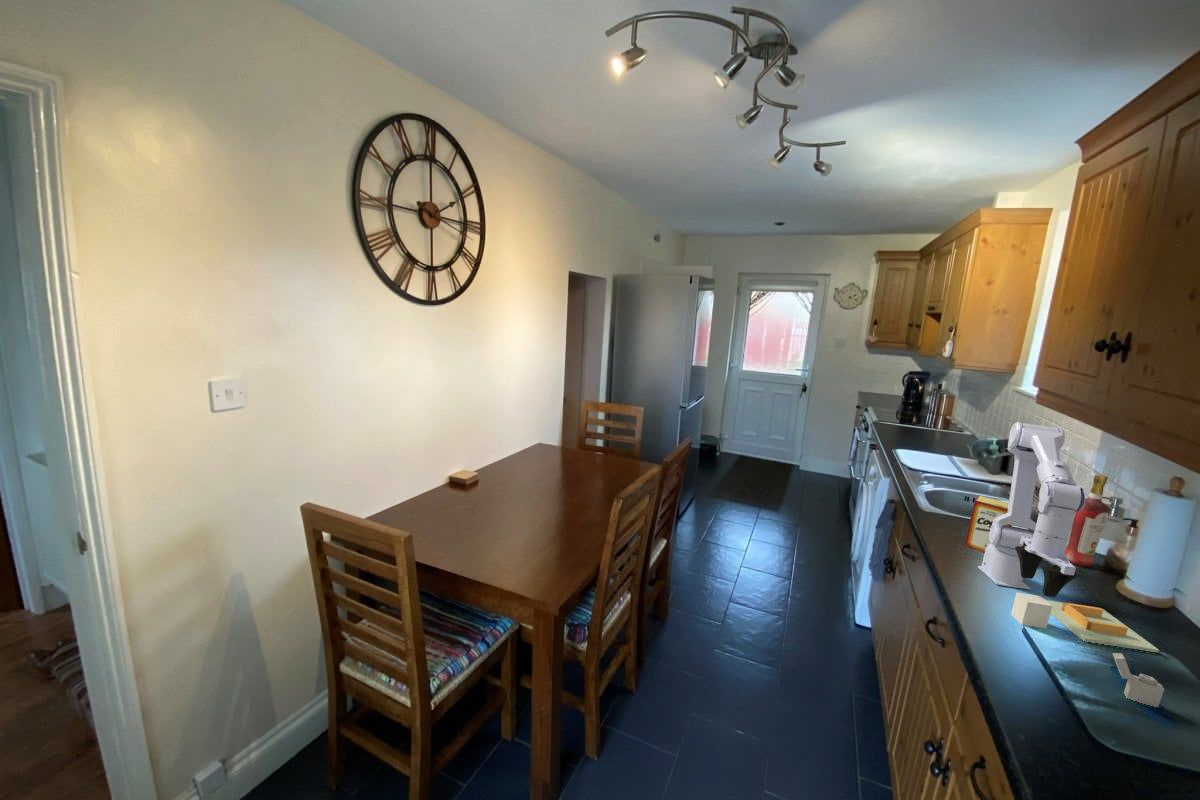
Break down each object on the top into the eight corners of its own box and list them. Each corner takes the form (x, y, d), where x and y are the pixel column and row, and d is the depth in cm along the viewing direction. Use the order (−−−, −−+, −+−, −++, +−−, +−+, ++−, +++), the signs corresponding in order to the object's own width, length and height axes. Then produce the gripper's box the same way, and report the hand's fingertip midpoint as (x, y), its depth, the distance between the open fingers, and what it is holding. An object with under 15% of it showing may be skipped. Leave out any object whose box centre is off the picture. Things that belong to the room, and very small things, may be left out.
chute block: (1010, 614, 115) (1016, 592, 114) (1034, 618, 114) (1040, 596, 113) (1021, 624, 111) (1027, 602, 110) (1046, 628, 110) (1052, 606, 109)
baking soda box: (964, 546, 150) (975, 499, 147) (968, 540, 154) (979, 494, 151) (1002, 558, 143) (1014, 509, 140) (1005, 552, 147) (1017, 504, 144)
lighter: (1154, 703, 89) (1166, 666, 88) (1158, 709, 88) (1170, 672, 86) (1101, 685, 93) (1112, 650, 92) (1104, 691, 92) (1115, 655, 90)
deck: (1037, 602, 121) (1040, 591, 120) (1101, 612, 118) (1104, 601, 118) (1083, 641, 106) (1087, 630, 106) (1157, 653, 104) (1161, 642, 103)
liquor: (1076, 556, 147) (1099, 472, 142) (1101, 569, 140) (1127, 480, 135) (1053, 555, 147) (1076, 470, 141) (1077, 568, 140) (1102, 479, 134)
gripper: (1011, 517, 116) (999, 567, 118) (1054, 545, 102) (1039, 601, 105) (1044, 521, 115) (1031, 572, 117) (1092, 550, 101) (1076, 607, 103)
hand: (1037, 586), depth 111 cm, fingers open, 7 cm apart
